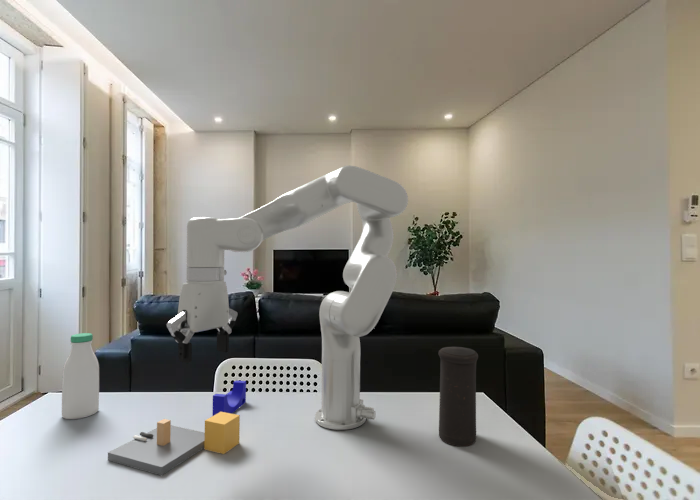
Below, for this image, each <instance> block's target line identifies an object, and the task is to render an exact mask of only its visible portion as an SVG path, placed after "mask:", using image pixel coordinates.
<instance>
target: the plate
mask: <svg viewBox="0 0 700 500" xmlns="http://www.w3.org/2000/svg"><path fill="white" fill-rule="evenodd" d="M171 422H172V421H171V419H167V418H163V419H161V420H159V421H157V422H156V428H154V429H151V430H150V431H147V432H144V431H140V432H139V435H136V434H135V435H133V436H132V438H133V439H132V440H130V441H128V442H126V443H124V444H122V445H120V446H118V447H117V448H114V449H112V450H110V451H108V452H107V461H110V462H114V463H116V464H120V465H124V466H128V467H131V468H134V469H138V470H141V471H146V472H148V473H151V474H155V475H159V476H164V474H166V473H167V472H169V471H171V470H172V469H174V468H176V467H177V466H179V465H180V464H182V463H183V462H185V461H186V460H188V459H189V458H191V457H192V456H194V455H195V454H197V453H199V452H200V451H201V450H202V451H203V449H204V443H205V431H200V430H194V429H189V428H186V427H181V426H177V425H172V424H171Z"/></svg>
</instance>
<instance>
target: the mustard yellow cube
mask: <svg viewBox="0 0 700 500" xmlns="http://www.w3.org/2000/svg"><path fill="white" fill-rule="evenodd" d="M240 417H241V416H240V414H235V413H232V414H231V413H226V412H219V413H217V414H216V415H214V416H213V415H212V416H211V417H208V418H207V419H204V433H205V443H204V448H203V449H204V450H205V451H209V452H213V453H217V454H222V455H225V454H227V453H228V452H229V451H230V450H232V449H234V448H235V447H236V446H237V445H239V444H240V431H241V430H240V423H241V422H240V421H241V419H240Z"/></svg>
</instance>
